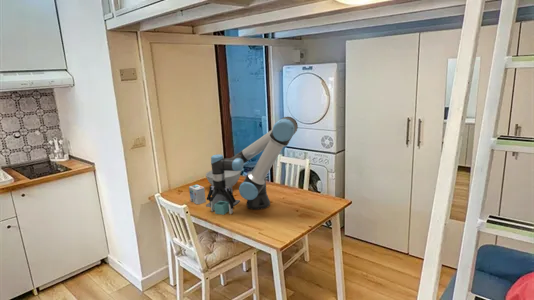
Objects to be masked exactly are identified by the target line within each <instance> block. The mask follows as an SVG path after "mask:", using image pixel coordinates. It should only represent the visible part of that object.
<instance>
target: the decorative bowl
mask: <svg viewBox="0 0 534 300" xmlns="http://www.w3.org/2000/svg"><path fill="white" fill-rule="evenodd" d="M224 172H225V183H226V185H225V186H232V188H233V186H235V185H236V184H237V183H238V181H239V179H240V177H241V173H242V170H241V171H224ZM205 177H206V179H207V181H208V183H209V184H210V185H211V186H213V175H212V170H209V171H207V172H206V173H205ZM213 187H214V186H213Z"/></svg>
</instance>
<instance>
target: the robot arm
mask: <svg viewBox="0 0 534 300" xmlns="http://www.w3.org/2000/svg"><path fill="white" fill-rule="evenodd" d="M298 128H299V127H298V121H297V120H296V119H295V118H294V117H291V116H284V117H282V118H280V119H279V120H277V121H276V122H275V123H274V124H273V127H272V129H271V130H269V131H268V132H266V133H265V134H264V135H262V136H261V137H260V138H258V139H257V140H255V141H253V142H252V143H251V144H249V145H248V146H246V147H245V148H244V149H242V150H241V151H239V152H238V153H236V154H235V155H233V156H232V157H230V158H226V157H225V158H224V155H223V154H220V153H219V154H213V155H212V156H211V157H210V163H211V164H210V165H211V171H212V175H213V186H212V185H211V186H209V189H208V190H209V191H208V194H207V197H206V201H208V202H209V203H210V206H211V207H210V210H211V211H210V212H215V207H214V200H213V199H214V197H215V196H216V194H220V195H223V196H224V197H225V198H226V199H227V200H228V202H229V203H230V204H229V212H228V213H229V215H231V214H233V213H234V210H233V209H234V206H233V203H235V202H236V200H237V199H236V198H235V197H234V193H233V194H232V192H231V190H230V187H229V188H226V187H225V185H226V183H225V172H224V171H241V172H242V171H243V169H244V164H245V163H247V162H248V161H250V160H251V159H253V158H254V157H255V156H257V155H260V156H259V158H258V160H257V162H256V164H255V165H254V167H253V169H252V170H249V171H247V173H246V176H245V178H244V180H243V181H242V182H241V183H240V185H239V188H238V192H239V195H240V196H241V197H242V198H243V199H244V200H246V207H247V208H248V209H250V210H257V211H258V210H264V209H266V208H268V207H270V206H271V201H270V199H269V196H268V193H267V179H266V177H267V175H268V173H269V172H270V170H271V168H272V167H273V165H274V163H275V161H276V160H277V159H278V157H279V155H280V153H281V151H282V150H283V148H284V147H287V146H288V145H289V143H290V141H291V140H292V138H293V137H294V135H296V132H297V131H298ZM260 153H261V154H260ZM213 189H214V190H215V192H214V194H213V195H212V192H213ZM227 193H228V194H227Z"/></svg>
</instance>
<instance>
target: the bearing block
mask: <svg viewBox="0 0 534 300" xmlns="http://www.w3.org/2000/svg"><path fill="white" fill-rule="evenodd" d="M225 187H226V188H229V187H230V190H231V192H232V194H233V195H234V193H233V187H232V186H225ZM214 192H215V190H214V189H213V192H212V195H213V194H214ZM227 194H228V193H227ZM212 195H211V196H212ZM213 200H214V204H216V203H217V202H219V201H225V202H228V200H227V199H226V198H225V197H224V196H223V195H220V194H216V196H215V197H214V199H213ZM235 200H236V202H235V203H233V207H235V206H236V205H237V204H240V203H241V199H235ZM229 204H230V203H229ZM205 207H206V208H207V207H208V208H211V206H210V202H208V203H207V204H205Z"/></svg>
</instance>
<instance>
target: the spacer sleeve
mask: <svg viewBox="0 0 534 300" xmlns="http://www.w3.org/2000/svg"><path fill="white" fill-rule="evenodd" d="M214 207H215V210H214V214H217V215H222V216H223V215H224V216H225V215H226V214H227V213H230V212H229V202H225V201H219V202H217V203H216V204H214Z"/></svg>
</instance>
